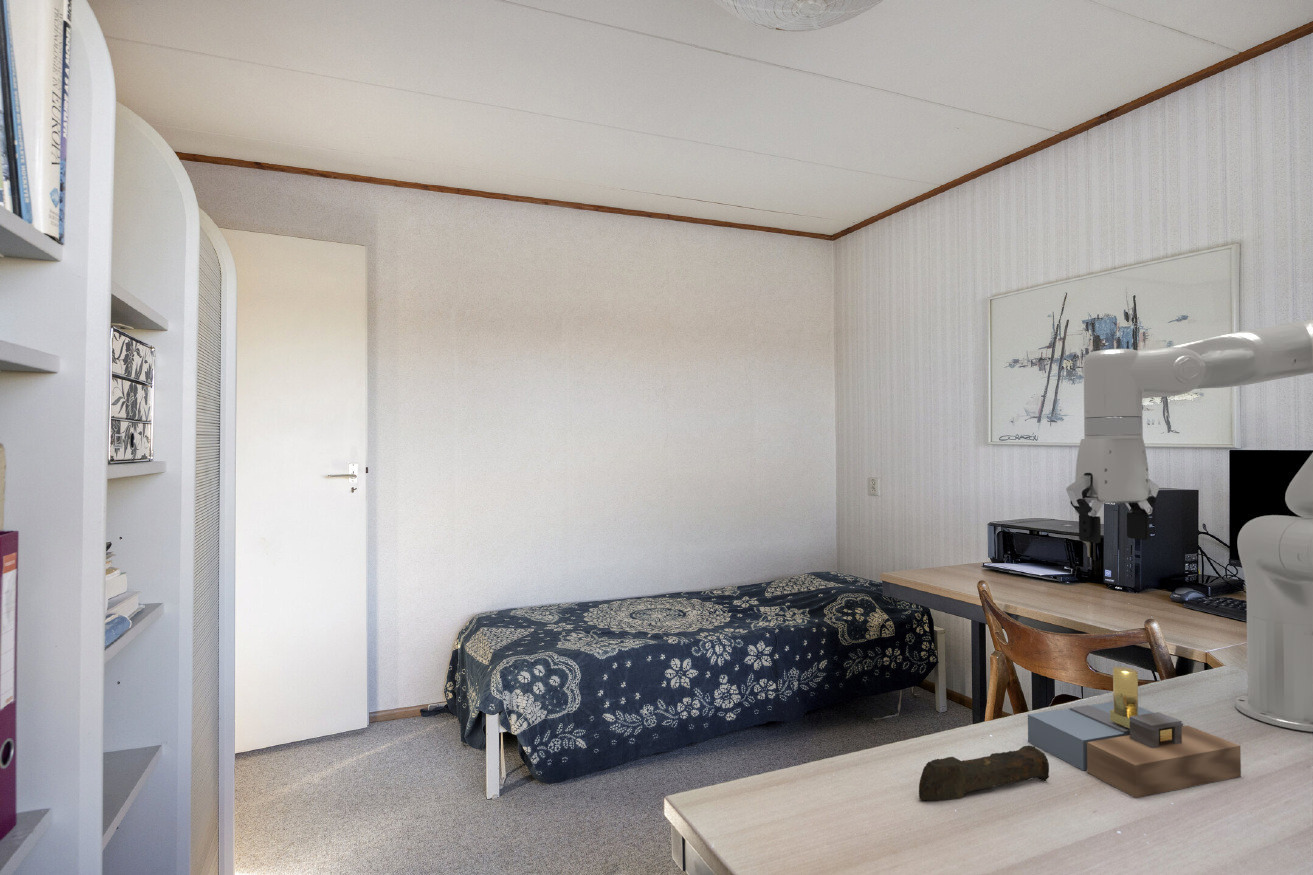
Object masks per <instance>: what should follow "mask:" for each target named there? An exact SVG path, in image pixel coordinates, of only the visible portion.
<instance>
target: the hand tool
mask: <svg viewBox="0 0 1313 875" xmlns="http://www.w3.org/2000/svg"><path fill="white" fill-rule="evenodd" d="M1049 765H1050V764H1049V761H1048V757H1047V755H1046V754H1045V753H1044V752H1042V751H1041V750H1040V749H1038V748H1037V747H1036V746H1035V745H1034V746H1033V745H1023V746H1022V747H1020V748H1019V749H1017V750H1013V751H1012V750H1008V751H1007V752H1005V751H1004V752H995V753H991V754H990V755H988V756H983V757H982V756H981V757H978V758H972V759H966V760H960V759H958V758H956V757H955V756H947V757H944V758H935V759H933V760H930V761H928V762H927V763H926V764H925V766H924V767H923V769H922V773H921V775H920V779H919V785H918V799H919V800H921V801H926V802H927V801H929V802H935V801H937V802H939V801H948V800H949V801H950V800H960V799H963V798H964V796H965V794H968V793H969V792H973V791H977V790H984V789H992V788H993V787H996V786H1002V785H1008V784H1012V783H1013V784H1014V783H1018V782H1024V781H1029V780H1032V779H1038V780H1040V781H1042V782H1046V781H1047V780H1048V779H1049V778H1050V775H1049V773H1050V766H1049Z"/></svg>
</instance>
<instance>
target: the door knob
mask: <svg viewBox="0 0 1313 875" xmlns="http://www.w3.org/2000/svg"><path fill="white" fill-rule="evenodd" d="M1112 681H1113V682H1112V683H1113V684H1112V685H1113V686H1112V687H1113V688H1112V689H1113V691H1112V692H1113V693H1112V694H1113V695H1112V696H1113V701H1112V702H1113V705H1114V710H1110V721H1113V722H1115V723H1118V724H1120V725H1122V726H1125V727H1127V728H1129V729H1130V716H1137V715H1138V706H1139V683H1138V682H1139V672H1138V670H1136V669H1134V668H1130V667H1126V666H1113V668H1112ZM1167 740H1172V729H1171V728H1163V729H1159V741H1160V742H1161V741H1167Z"/></svg>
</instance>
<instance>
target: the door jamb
mask: <svg viewBox="0 0 1313 875" xmlns="http://www.w3.org/2000/svg"><path fill="white" fill-rule="evenodd" d="M1182 722H1183V721H1182V720H1181V719H1179V718H1178V719H1177V718H1174V717H1172V716H1171V715H1167V714H1165V713H1162V712H1161V711H1157V712H1154V713H1149V714H1143V715H1137V716H1130V735H1127V736H1121V737H1115V738H1109V739H1103V740H1097V741H1091V742H1087V770H1086V772H1087V774H1089V775H1091V776H1093V777H1095V778H1097V779H1098V780H1100V781H1102V782H1104V783H1106V784H1109V785H1110V786H1112V787H1114V788H1116V789H1118V790H1119V791H1121V792H1123V793H1126V794H1128V795H1129V796H1131V797H1133V798H1135V799H1138V798H1143V797H1148V796H1152V795H1157V794H1162V793H1167V792H1172V791H1178V790H1181V789H1187V788H1191V787H1192V788H1193V787H1196V786H1202V785H1206V784H1211V783H1216V782H1222V781H1226V780H1230V779H1231V780H1232V779H1236V778H1241V776H1242V765H1241V764H1242V763H1241V762H1242V760H1241V759H1242V756H1241V744H1240V745H1239V744H1237V743H1235V742H1232V741H1229V740H1227V739H1223V738H1222V737H1218V736H1216V735H1213V734H1211V733H1209V732H1205V731H1203V730H1201V729H1199V728H1196V727H1192V726H1191V725H1188V724H1187V725H1183V726H1182ZM1163 728H1171V729H1172V740H1167V741H1161V742H1160V741H1159V729H1163Z"/></svg>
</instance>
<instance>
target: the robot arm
mask: <svg viewBox="0 0 1313 875" xmlns="http://www.w3.org/2000/svg"><path fill="white" fill-rule="evenodd" d="M1309 374H1313V318H1311V319H1306V320H1305V319H1304V320H1298V321H1293V322H1288V323H1282V324H1275V325H1270V326H1264V327H1259V328H1252V329H1246V330H1240V331H1235V332H1231V333H1225V334H1220V335H1216V336H1212V337H1208V338H1204V339H1200V340H1197V341H1192V342H1188V343H1183V344H1182V343H1181V344H1179V345H1178V344H1177V345H1174V346H1167V347H1160V348H1152V349H1151V348H1150V349H1140V350H1135V349H1132V348H1110V349H1109V348H1108V349H1101V350H1096V351H1095V350H1094V351H1091V352H1089V353H1087V355H1085V357H1084V358H1083V421H1084V422H1083V428H1084V430H1083V434H1084V436H1083V437H1084V438H1081V439H1080V442H1079V444H1078V450H1077V455H1076V456H1077V457H1076V463H1075V464H1076V465H1075V479H1074V480H1075V481H1073V483H1071V484H1070V485H1068V486H1067V487H1066V489H1065V490H1066V493H1067V496H1068V498H1069V500H1070V502H1069V503H1070V505H1071V506H1072V507H1073V508H1074V512H1075V514H1076V515H1078V539H1079V541H1080V542H1086V543H1092V544H1093V543H1094V544H1099V543H1101V541H1102V536H1101V533H1102V532H1101V529H1102V528H1101V523H1102V522H1101V521H1102V520H1101V516H1099V515H1098V513H1099V512H1100V510H1101V509H1102V507H1103V505H1105V504H1125V505H1126V507H1127V508H1128V510H1129V512H1126V536H1127V538H1129V539H1134V540H1141V541H1148V540H1150V514H1152V513H1153V506H1154V505H1155V503H1156V501H1157V499H1156V497H1157V495H1158V492H1159V489H1160V486H1159V484H1157V483H1156V482H1154V481H1153V480H1151V479H1150V477H1149V464H1148V457H1147V449H1146V445H1145V440H1144V436H1143V432H1144V431H1143V429H1144V428H1143V426H1144V425H1143V420H1144V419H1143V413H1144V412H1143V399H1151V398H1167V397H1174V396H1175V397H1176V396H1181V395H1185V394H1188V393H1190V392H1192V391H1194V390H1202V389H1218V388H1219V389H1220V388H1221V389H1223V388H1230V387H1231V388H1233V387H1239V386H1248V385H1254V384H1258V383H1259V384H1260V383H1264V382H1268V381H1269V382H1270V381H1275V380H1282V379H1285V378H1291V377H1292V378H1293V377H1297V376H1298V377H1299V376H1304V375H1309ZM1284 497H1285V498H1284V500H1285V504H1286V506H1287V507H1288V509H1289V510H1290V511H1291V512H1293V513H1294V514H1295V515H1297V516H1293V515H1291V516H1290V515H1280V514H1279V515H1278V514H1275V515H1274V514H1271V515H1263V516H1259V517H1255V518H1253V519H1250V520H1249V521H1247V522H1246V523H1245V524H1244V525H1243V526H1241V527H1242V528H1241V529H1240V531H1239V532H1238V535H1237V542H1236V543H1237V550H1238V551H1237V552H1238V556H1239V561H1240V563H1241V567H1242V571H1243V575H1244V582H1245V591H1246V592H1245V593H1246V594H1245V595H1246V596H1245V597H1246V645H1247V646H1246V654H1247V657H1246V658H1247V661H1246V662H1247V694H1246V695H1245V694H1244V695H1241V696H1238V697H1236V699H1235V701H1234V703H1235V707H1236V710H1238V711H1239V712H1241V713H1242V714H1243V715H1246V716H1247V717H1249V718H1252V719H1255V720H1257V721H1260V722H1264V723H1267V724H1270V725H1273V726H1277V727H1280V728H1286V729H1291V730H1297V731H1300V732H1301V731H1302V732H1311V733H1313V452H1312V453H1311V454H1310V455H1309V457H1308V458H1307V460H1306V461H1305V462H1304V464H1303V465H1302V466H1301V468H1300V469H1299V470H1298V472H1297V473H1296V474H1295V475H1294V477H1293V478H1292V480H1291V481H1290V482H1289V485H1288V486H1287V488H1286V491H1285V496H1284ZM1090 504H1091V505H1090ZM1097 515H1098V516H1097Z"/></svg>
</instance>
